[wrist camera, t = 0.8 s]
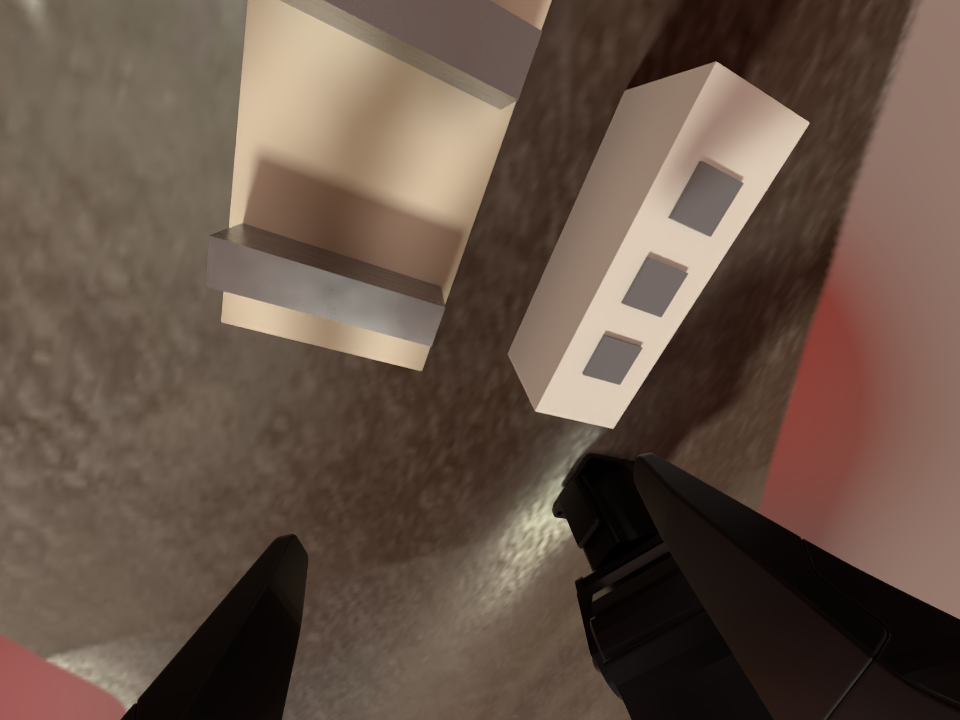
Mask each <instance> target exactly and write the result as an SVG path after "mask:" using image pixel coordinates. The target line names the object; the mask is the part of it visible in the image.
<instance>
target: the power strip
mask: <svg viewBox="0 0 960 720" xmlns="http://www.w3.org/2000/svg"><path fill="white" fill-rule="evenodd" d="M808 125H809V122H808V121H806V120H805V119H803V118H802V117H800V116H799V115H797V114H796V113H794V112H793V111H791V110H789V109H788V108H786V107H785V106H783V105H782V104H780V103H779V102H777V101H776V100H774V99H773V98H771V97H770V96H768V95H767V94H765V93H764V92H762V91H761V90H759V89H758V88H756V87H755V86H753V85H752V84H750V83H749V82H747V81H746V80H744V79H742V78H741V77H739V76H738V75H736V74H735V73H733V72H732V71H730V70H729V69H727V68H726V67H724V66H723V65H721V64H720V63H718V62H717V61H716V62H713V63H710V64H707V65H703V66H700V67H697V68H694V69H691V70H688V71H685V72H682V73H678V74H675V75H672V76H669V77H666V78H663V79H660V80H657V81H653V82H650V83H647V84H644V85H641V86H638V87H635V88H631V89H628V90H625V92H624V94H623V96H622V98H621V101H620V103H619V105H618V107H617V110H616V112H615V114H614V116H613V118H612V121H611V123H610V125H609V127H608V130H607V132H606V134H605V136H604V139H603V141H602V143H601V145H600V148H599V150H598V152H597V154H596V157H595V159H594V161H593V163H592V166H591V168H590V170H589V172H588V175H587V177H586V179H585V181H584V184H583V186H582V188H581V190H580V193H579V195H578V197H577V199H576V202H575V204H574V206H573V208H572V210H571V213H570V215H569V217H568V219H567V222H566V224H565V226H564V228H563V231H562V233H561V235H560V237H559V240H558V242H557V244H556V246H555V249H554V251H553V253H552V255H551V258H550V260H549V262H548V264H547V267H546V269H545V271H544V273H543V276H542V278H541V280H540V282H539V285H538V287H537V289H536V291H535V294H534V296H533V298H532V300H531V302H530V305H529V307H528V309H527V311H526V314H525V316H524V318H523V320H522V323H521V325H520V327H519V329H518V332H517V334H516V336H515V338H514V341H513V343H512V345H511V347H510V350H509V352H508V356H509V358H510V360H511V362H512V364H513V366H514V368H515V370H516V373H517V375H518V377H519V379H520V381H521V383H522V385H523V387H524V389H525V391H526V393H527V396H528V398H529V400H530V402H531V404H532V406H533V408H534V410H535V411H537V412H541V413H545V414H550V415H554V416H559V417H563V418H567V419H572V420H576V421H581V422H585V423H589V424H594V425H598V426H603V427H607V428H611V429H613V428H614V427H615V425H616V424H617V422H618V421H619V419H620V418H621V416H622V414H623V413H624V411H625V410H626V408H627V407H628V405H629V404H630V402H631V400H632V399H633V397H634V396H635V394H636V393H637V391H638V390H639V388H640V386H641V385H642V383H643V382H644V380H645V379H646V377H647V376H648V374H649V372H650V371H651V369H652V368H653V366H654V365H655V363H656V362H657V360H658V358H659V357H660V355H661V354H662V352H663V351H664V349H665V348H666V346H667V344H668V343H669V341H670V340H671V338H672V337H673V335H674V334H675V332H676V330H677V329H678V327H679V326H680V324H681V323H682V321H683V320H684V318H685V316H686V315H687V313H688V312H689V310H690V309H691V307H692V306H693V304H694V302H695V301H696V299H697V298H698V296H699V295H700V293H701V292H702V290H703V288H704V287H705V285H706V284H707V282H708V281H709V279H710V278H711V276H712V274H713V273H714V271H715V270H716V268H717V267H718V265H719V263H720V262H721V260H722V259H723V257H724V256H725V254H726V253H727V251H728V249H729V248H730V246H731V245H732V243H733V242H734V240H735V239H736V237H737V235H738V234H739V232H740V231H741V229H742V228H743V226H744V225H745V223H746V221H747V220H748V218H749V217H750V215H751V214H752V212H753V211H754V209H755V207H756V206H757V204H758V203H759V201H760V200H761V198H762V197H763V195H764V193H765V192H766V190H767V189H768V187H769V186H770V184H771V183H772V181H773V179H774V178H775V176H776V175H777V173H778V172H779V170H780V169H781V167H782V165H783V164H784V162H785V161H786V159H787V158H788V156H789V155H790V153H791V151H792V150H793V148H794V147H795V145H796V144H797V142H798V141H799V139H800V137H801V136H802V134H803V133H804V131H805V130H806V128H807V127H808Z"/></svg>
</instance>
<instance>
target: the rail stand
mask: <svg viewBox="0 0 960 720" xmlns="http://www.w3.org/2000/svg"><path fill="white" fill-rule="evenodd" d="M551 1H552V0H248V5H247V17H246V29H245V41H244V53H243V66H242V78H241V90H240V102H239V114H238V126H237V138H236V150H235V162H234V174H233V186H232V198H231V210H230V222H229V228H228V229H225V230H223V231H220V232H217V233H215V234H212V235H209V247H208V263H207V279H206V287H209V288H213V289H217V290H221V291H224V294H223V306H222V318H221V322H223V323H227V324H231V325H235V326H239V327H243V328H247V329H251V330H255V331H259V332H263V333H268V334H272V335H276V336H280V337H284V338H288V339H292V340H296V341H300V342H304V343H308V344H313V345H317V346H321V347H325V348H329V349H333V350H337V351H341V352H345V353H349V354H353V355H358V356H362V357H366V358H370V359H374V360H378V361H382V362H386V363H390V364H394V365H398V366H403V367H407V368H411V369H415V370H419V371H422V369H423V366H424V363H425V361H426V358H427V355H428V352H429V349H430V347H432V344H433V341H434V338H435V335H436V332H437V330H438V327H439V324H440V321H441V318H442V315H443V312H444V310H445V303H446V301H447V298H448V295H449V292H450V289H451V286H452V283H453V281H454V278H455V275H456V272H457V269H458V266H459V263H460V261H461V258H462V255H463V252H464V249H465V246H466V243H467V241H468V238H469V235H470V232H471V229H472V226H473V223H474V221H475V218H476V215H477V212H478V209H479V206H480V204H481V201H482V198H483V195H484V192H485V189H486V186H487V184H488V181H489V178H490V175H491V172H492V169H493V166H494V164H495V161H496V158H497V155H498V152H499V149H500V146H501V144H502V141H503V138H504V135H505V132H506V129H507V126H508V124H509V121H510V118H511V115H512V112H513V109H514V106H515V104H516V101H517V100H518V99H519V96H520V93H521V91H522V88H523V85H524V82H525V79H526V76H527V73H528V71H529V68H530V65H531V62H532V59H533V56H534V54H535V51H536V48H537V45H538V42H539V39H540V37H541V34H542V30H541V29H542V26H543V24H544V21H545V18H546V15H547V12H548V9H549V6H550V4H551Z"/></svg>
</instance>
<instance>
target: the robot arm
mask: <svg viewBox="0 0 960 720" xmlns="http://www.w3.org/2000/svg"><path fill="white" fill-rule="evenodd" d="M552 512H553V515H554V516H555V517H557V518H564V519H567V521H568V524H569V526H570V528H571V531H572V533H573V536H574V538H575V540H576V543H577V545H578V547H579V548H581V549H583V550H584V553H585V555H586V557H587V560H588V562H589V564H590V567H591V569H592V571H593V572H592V573H590V574H588V575H587V576H585V577H580V578H579V579H577V580H575V584H576V589H577V597H578V602H579V606H580V610H581V615H582V619H583V624H584V628H585V632H586V637H587V641H588V646H589V650H590V654H591V656H592V661H593V664H594V667H595V669H596V670H597V671H598V672H599V673H601V674H602V675H603V677H604V679H605V680H606V682H607V684H608V685H609V687H610V688H611V689H612V691H613V692H614V693H615V694H616V695H617V697H619V698H620V699H621V700H623V702H624V704H625V706H626V708H627V710H628V712H629V715H630V717H631V719H632V720H960V619H958V618H956V617H954V616H952V615H950V614H948V613H946V612H944V611H942V610H939V609H938V608H935V607H933V606H931V605H929V604H927V603H925V602H923V601H921V600H919V599H917V598H915V597H913V596H911V595H909V594H907V593H905V592H903V591H901V590H899V589H897V588H895V587H893V586H891V585H889V584H887V583H885V582H883V581H881V580H879V579H877V578H875V577H873V576H871V575H869V574H867V573H865V572H864V571H861V570H859V569H858V568H856V567H854V566H852V565H850V564H848V563H847V562H845V561H843V560H841V559H839V558H837V557H836V556H834V555H832V554H830V553H828V552H826V551H825V550H823V549H821V548H819V547H818V546H816V545H814V544H812V543H810V542H809V541H807V540H805V539H801V537H799V536H798V535H796V534H794V533H793V532H791V531H789V530H787V529H786V528H784V527H782V526H780V525H779V524H777V523H775V522H773V521H772V520H770V519H768V518H766V517H764V516H763V515H761V514H759V513H758V512H756V511H754V510H752V509H750V508H749V507H747V506H745V505H743V504H742V503H740V502H738V501H736V500H735V499H733V498H731V497H729V496H728V495H726V494H724V493H722V492H721V491H719V490H717V489H715V488H714V487H712V486H710V485H708V484H707V483H705V482H703V481H701V480H699V479H698V478H696V477H694V476H692V475H691V474H689V473H687V472H685V471H684V470H682V469H680V468H678V467H677V466H675V465H673V464H671V463H670V462H668V461H666V460H664V459H663V458H661V457H659V456H657V455H656V454H653V453H646V454H641V455H638V456H637V457H636V458H635V462H632V461H627V460H622V459H617V458H612V457H607V456H602V455H598V454H589V455H587V456H586V457H585V458H584V460H583V461H582V463H581V464H580V466H579V468H578V469H577V471H576V472H575V474H574V475H573V477H572V479H571V480H570V482H569V483H568V485H567V486H566V488H565V490H564V491H563V493H562V494H561V496H560V498H559V499H558V501H557V502H556V504H555V505H554V507H553V509H552ZM307 569H308V555H307V552H306V551H305V549H304V547H303V546H302V544H301V543H300V541H299V539H298V538H297V536H296V535H294V534H289V535H285V536H280V537H278V538H276V539H275V540H274V541H273V542H272V543H271V544H270V546H269V547H268V548H267V549H266V550H265V551H264V553H263V554H262V555H261V556H260V557H259V558H258V560H257V561H256V562H255V563H254V564H253V565H252V567H251V568H250V569H249V570H248V571H247V572H246V574H245V575H244V576H243V577H242V578H241V579H240V581H239V582H238V583H237V584H236V585H235V586H234V588H233V589H232V590H231V591H230V592H229V593H228V595H227V596H226V597H225V598H224V599H223V600H222V602H221V603H220V604H219V605H218V606H217V608H216V609H215V610H214V611H213V612H212V613H211V615H210V616H209V617H208V618H207V619H206V620H205V622H204V623H203V624H202V625H201V626H200V627H199V629H198V630H197V631H196V632H195V633H194V634H193V636H192V637H191V638H190V639H189V640H188V641H187V643H186V644H185V645H184V646H183V647H182V648H181V650H180V651H179V652H178V653H177V654H176V655H175V657H174V658H173V659H172V660H171V661H170V662H169V664H168V665H167V666H166V667H165V668H164V670H163V671H162V672H161V673H160V674H159V675H158V677H157V678H156V679H155V680H154V681H153V682H152V684H151V685H150V686H149V687H148V688H147V689H146V691H145V692H144V693H143V694H142V695H141V696H140V698H139V699H138V701H137V703H136V704H134V705H133V706H132V707H131V708H130V709H129V710H128V711H127V713H126V714H125V715H124V716H123V717H122V719H121V720H282V716H283V711H284V706H285V702H286V697H287V692H288V687H289V683H290V678H291V673H292V668H293V664H294V659H295V654H296V649H297V645H298V640H299V634H300V629H301V622H302V615H303V605H304V596H305V587H306V578H307Z"/></svg>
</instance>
